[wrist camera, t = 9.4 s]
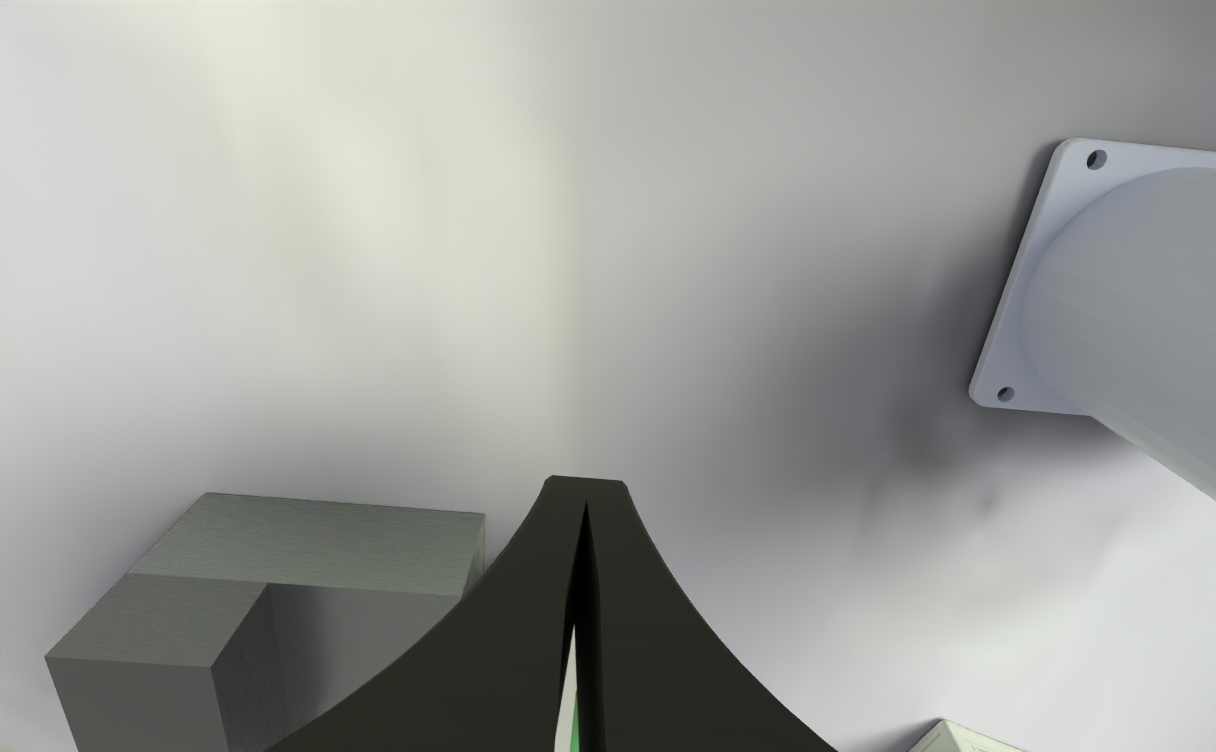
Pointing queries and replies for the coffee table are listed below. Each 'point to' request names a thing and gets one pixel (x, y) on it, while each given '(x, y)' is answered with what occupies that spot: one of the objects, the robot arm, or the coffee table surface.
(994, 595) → the coffee table surface
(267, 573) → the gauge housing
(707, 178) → the coffee table surface
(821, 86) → the coffee table surface
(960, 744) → the supplement box
